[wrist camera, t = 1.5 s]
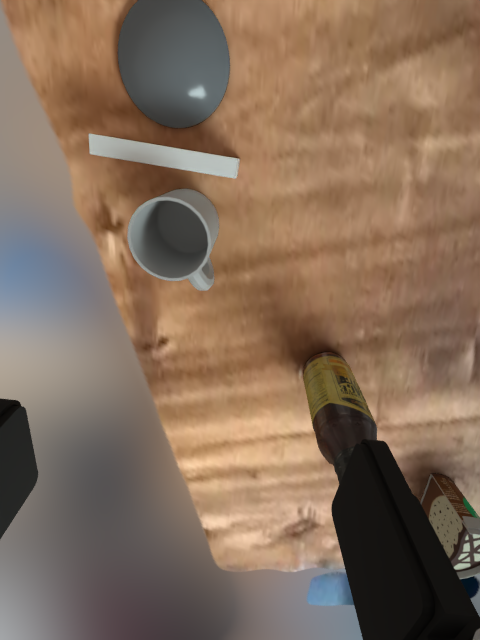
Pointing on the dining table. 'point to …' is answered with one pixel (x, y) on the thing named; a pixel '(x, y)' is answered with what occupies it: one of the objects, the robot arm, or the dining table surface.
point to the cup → (175, 237)
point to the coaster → (174, 60)
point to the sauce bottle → (336, 409)
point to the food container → (453, 524)
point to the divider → (163, 156)
